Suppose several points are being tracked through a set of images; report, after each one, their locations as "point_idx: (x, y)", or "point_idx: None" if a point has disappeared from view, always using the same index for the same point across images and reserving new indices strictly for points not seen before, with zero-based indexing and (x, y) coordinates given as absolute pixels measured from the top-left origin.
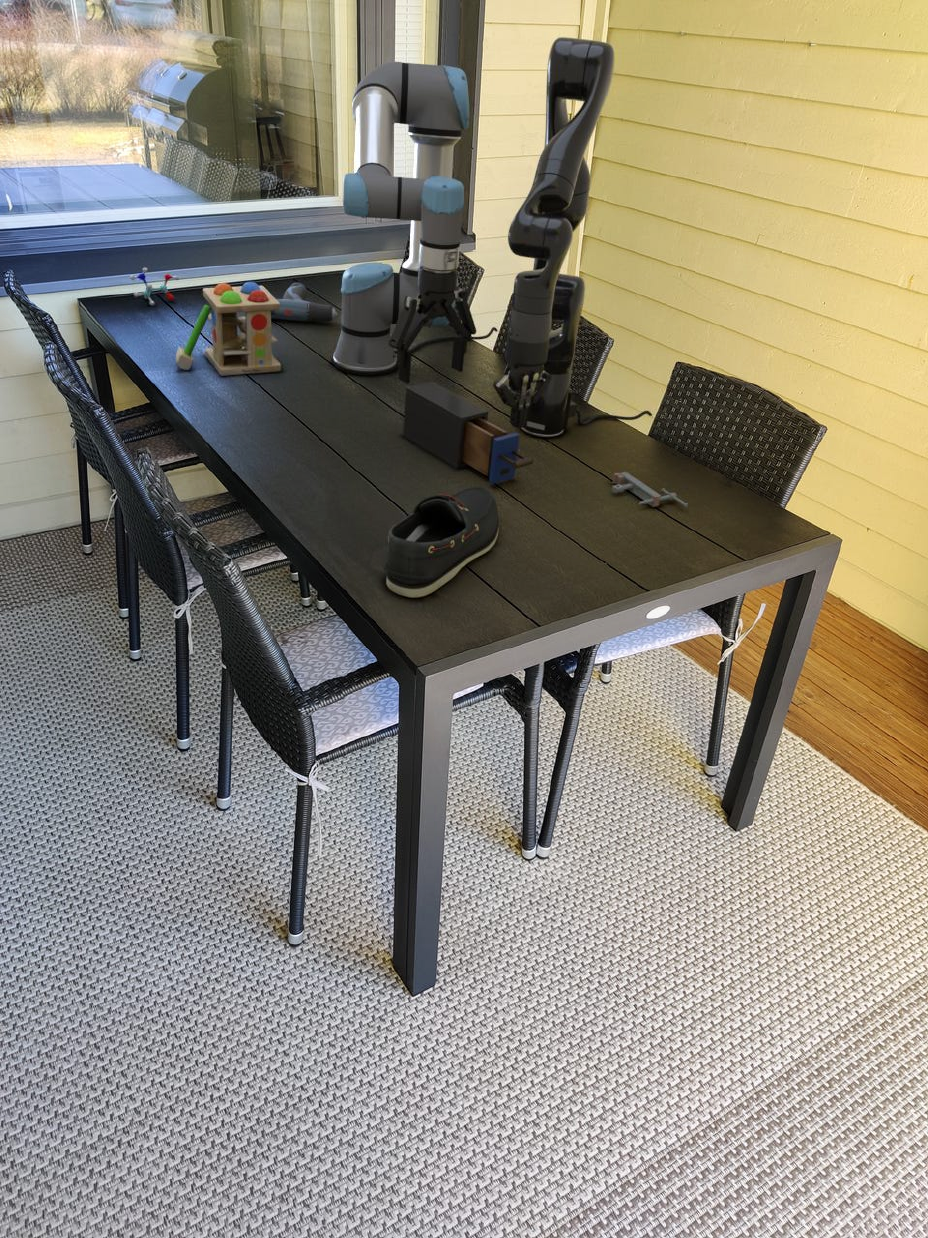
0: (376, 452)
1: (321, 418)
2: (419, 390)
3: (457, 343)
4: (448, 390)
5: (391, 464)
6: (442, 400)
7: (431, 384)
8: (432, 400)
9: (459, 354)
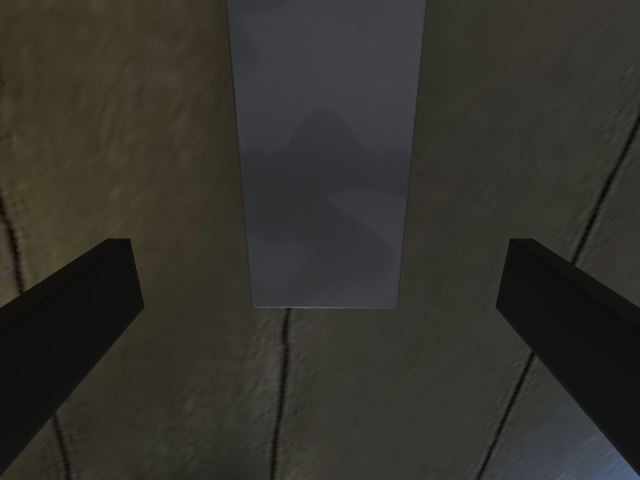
0: (502, 182)
1: (464, 391)
2: (372, 253)
3: (11, 397)
4: (245, 192)
5: (530, 91)
6: (357, 97)
7: (276, 282)
8: (405, 123)
9: (63, 309)
